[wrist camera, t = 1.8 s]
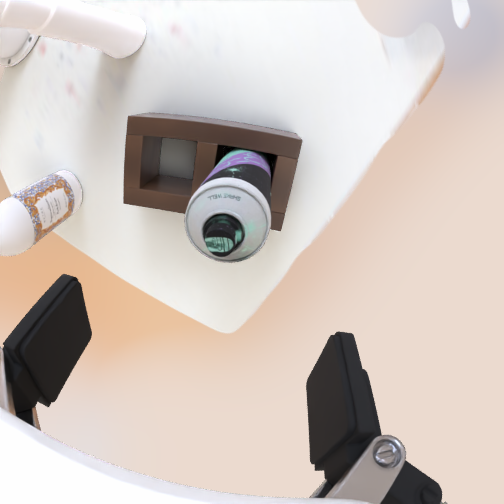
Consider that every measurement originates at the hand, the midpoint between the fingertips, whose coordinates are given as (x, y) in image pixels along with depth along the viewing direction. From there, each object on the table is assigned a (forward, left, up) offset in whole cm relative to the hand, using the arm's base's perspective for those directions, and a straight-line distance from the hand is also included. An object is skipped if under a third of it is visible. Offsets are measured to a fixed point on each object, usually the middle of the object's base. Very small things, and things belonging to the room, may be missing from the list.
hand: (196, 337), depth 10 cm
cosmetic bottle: (-15, -18, -27) cm, 36 cm away
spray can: (0, 0, -27) cm, 27 cm away
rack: (0, -4, -27) cm, 27 cm away
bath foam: (+7, -26, -27) cm, 38 cm away
